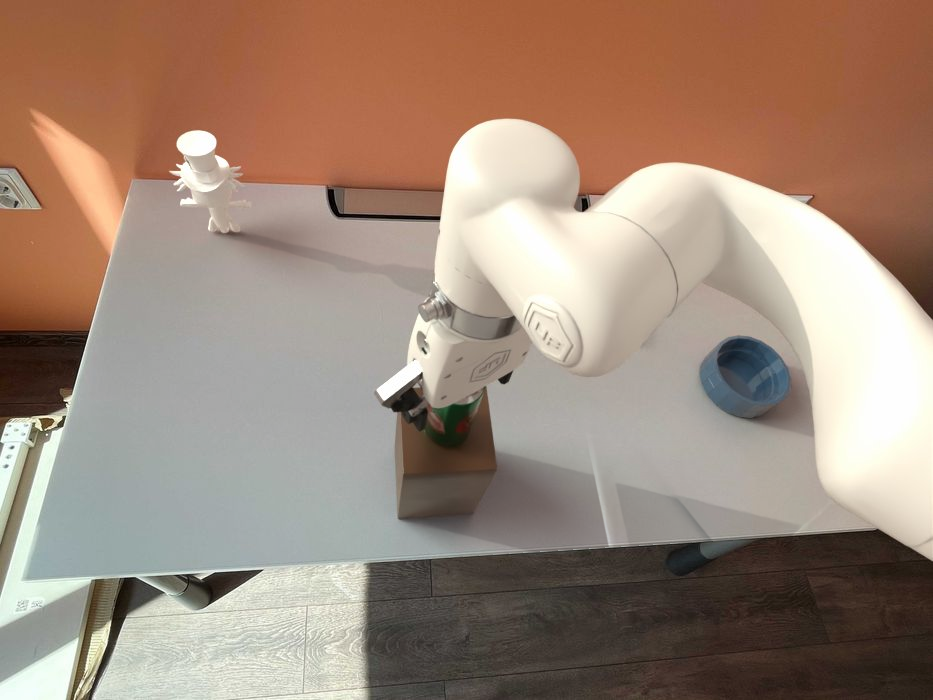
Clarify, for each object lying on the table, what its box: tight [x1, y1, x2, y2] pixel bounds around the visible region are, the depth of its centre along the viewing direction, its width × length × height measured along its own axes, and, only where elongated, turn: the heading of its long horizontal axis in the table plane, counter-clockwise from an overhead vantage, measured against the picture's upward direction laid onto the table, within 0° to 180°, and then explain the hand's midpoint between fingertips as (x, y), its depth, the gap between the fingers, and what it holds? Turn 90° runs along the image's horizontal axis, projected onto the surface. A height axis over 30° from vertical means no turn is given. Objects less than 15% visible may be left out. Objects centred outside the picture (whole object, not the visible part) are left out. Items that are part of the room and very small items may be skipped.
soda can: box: [425, 386, 487, 447], centre depth 58 cm, size 5×5×12 cm
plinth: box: [394, 386, 498, 520], centre depth 71 cm, size 10×10×18 cm
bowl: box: [699, 335, 792, 419], centre depth 91 cm, size 12×12×5 cm
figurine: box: [168, 129, 253, 234], centre depth 87 cm, size 10×8×18 cm
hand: (456, 394), depth 56 cm, fingers open, 9 cm apart
